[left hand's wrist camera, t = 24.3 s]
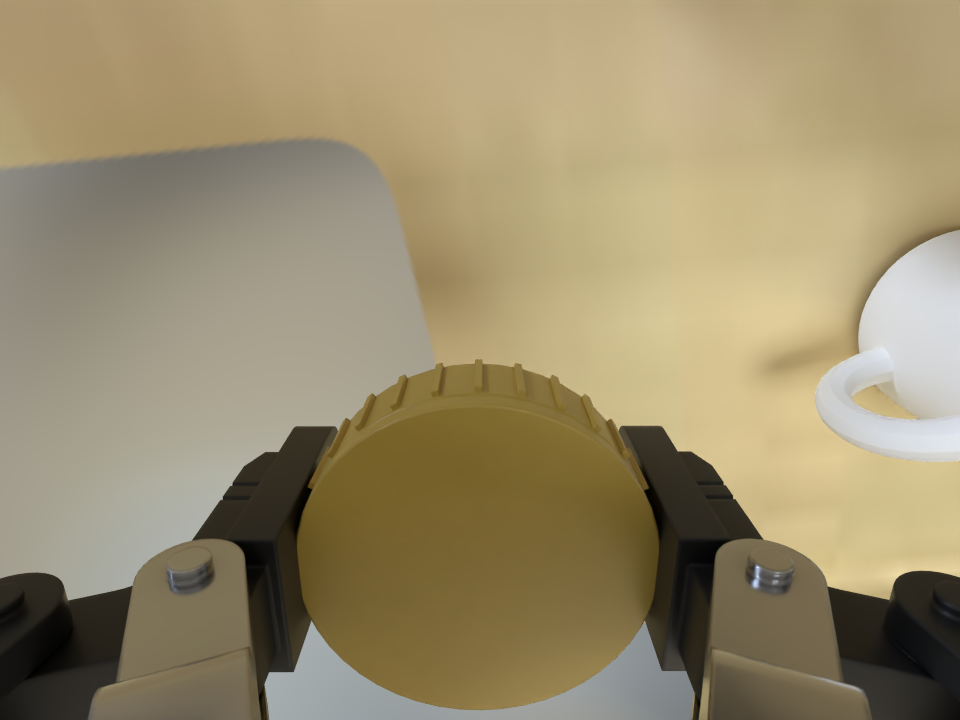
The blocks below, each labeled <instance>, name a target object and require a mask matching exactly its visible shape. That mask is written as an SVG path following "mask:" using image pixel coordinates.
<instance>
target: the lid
mask: <svg viewBox="0 0 960 720" xmlns="http://www.w3.org/2000/svg"><path fill="white" fill-rule="evenodd" d="M308 488H310V489H313V490H312V492H311V494H310V496H309V499H308V501H307V503H306V506H305V508H304V510H303V512H302V516H301V519H300V523H299V527H298V531H297V538H296V543H297V554H298V563H299V571H300V580H301V589H302V596H303V602H304V605H305V607H306V610H307V613H308V614H309V616H310V618H311V620H312V622H313V623H314V625H315V627H316V629H317V630H318V632H319V633H320V634H321V636H322V637H323V638H324V640H325V641H326V642H327V644H328V645H329V646H330V647H331V648H332V649H333V650H334V652H335V653H336V654H337V655H338V656H339V657H340V658H341V659H342V660H343V661H344V662H346V663H347V664H348V665H349V666H351V667H352V668H353V669H354V670H356V671H357V672H358V673H359V674H361V675H362V676H364V677H366V678H367V679H369V680H371V681H372V682H374V683H375V684H377V685H379V686H381V687H383V688H385V689H387V690H389V691H391V692H393V693H395V694H398V695H401V696H403V697H406V698H409V699H412V700H415V701H418V702H422V703H426V704H430V705H434V706H439V707H446V708H453V709H463V710H492V709H505V708H511V707H517V706H523V705H527V704H531V703H535V702H539V701H542V700H546V699H548V698H551V697H553V696H556V695H559V694H561V693H564V692H566V691H568V690H570V689H572V688H574V687H576V686H578V685H580V684H582V683H583V682H585V681H586V680H588V679H590V678H591V677H592V676H594V675H596V674H597V673H599V672H600V671H601V670H603V669H604V668H605V667H606V666H607V665H608V664H610V663H611V662H612V661H613V660H614V659H615V658H617V657H618V655H619V654H620V653H621V652H622V651H623V650H624V649H625V648H626V647H627V646H628V645H629V643H630V642H631V641H632V639H633V638H634V636H635V635H636V634H637V632H638V631H639V629H640V628H641V626H642V624H643V623H644V621H645V619H646V617H647V615H648V613H649V611H650V609H651V606H652V603H653V599H654V592H655V583H656V574H657V566H658V557H659V546H660V538H659V531H658V526H657V523H656V520H655V517H654V513H653V510H652V507H651V505H650V503H649V501H648V499H647V497H646V495H645V492H644V490H646V489H648V488H649V487H648V485H647V483H646V481H645V479H644V477H643V475H642V472H641V470H640V468H639V466H638V464H637V462H636V460H635V458H634V456H633V454H632V452H631V450H630V448H626V446H625V444H624V442H623V440H622V438H621V436H620V434H619V431H618V429H617V427H616V425H615V423H614V422H613V420H612V419H610V420H608V421H606V420H605V419H604V418H603V417H602V415H601V414H600V413H599V412H598V411H597V410H596V409H595V408H594V407H593V405H592V402H591V400H590V398H589V397H588V396H587V395H586V394H584V395H583V396H582V397H581V396H579V395H578V394H576V393H575V392H573V391H571V390H570V389H568V388H567V387H565V386H563V385H562V384H560V383H559V379H558V377H556V376H554V375H552V376H551V378H550V379H549V378H547V377H544V376H542V375H539V374H536V373H533V372H529V371H526V370H523V369H522V366H521V364H516V363H515V364H514V368H513V367H508V366H502V365H491V364H482V360H475V364H466V365H453V366H448V367H444V366H443V363H440V364H436V367H435V369H433V370H430V371H427V372H424V373H421V374H418V375H415V376H412V377H409V378H407V377H406V375H403V376H401V377H399V380H398V383H397V384H395V385H393V386H391V387H389V388H388V389H386V390H385V391H383V392H382V393H381V394H379V395H378V396H375V395H374V394H371V395H369V396H368V398H367V400H366V402H365V404H364V407H363V408H362V409H361V410H359V411H358V412H357V414H356V415H355V416H354V417H353V418H352V419H351V421H350V420H349V419H347V418H346V419H345V420H344V421H343V423H342V425H341V427H340V429H339V431H338V433H337V435H336V437H335V439H334V441H333V443H332V445H331V447H327V449H326V451H325V453H324V455H323V457H322V459H321V461H320V463H319V465H318V467H317V469H316V471H315V473H314V475H313V477H312V479H311V481H310V483H309V485H308Z"/></svg>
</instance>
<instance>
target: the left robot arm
mask: <svg viewBox="0 0 960 720" xmlns="http://www.w3.org/2000/svg"><path fill="white" fill-rule="evenodd" d="M337 433H338V430H337V428H336V427H334V426H297V427H294V429H293V430H292V432H291V433H290V435H289V436H288V438H287V440H286V441H285V443H284V444H283V446H282V448H281V449H280V451H279V452H265V453H264V454H262V455H261V456H259V457H257V458H256V459H254V460H253V461H252V462H250V463H248V464H247V465H246V466H244V467H243V469H242V470H241V472H240V473H239V474H238V476H237V477H236V479H235V480H234V482H233V485H232V486H230V487H229V489H228V490H227V491H226V493H225V494H224V496H223V500H220V501H219V503H218V504H217V506H216V507H215V509H214V510H213V511H212V513H211V514H210V516H209V517H208V519H207V520H206V521H205V523H204V524H203V526H202V527H201V528H200V530H199V531H198V533H197V534H196V536H195V537H194V538H193V540H192V541H189V542H185V543H182V544H179V545H176V546H173V547H171V548H169V549H167V550H164V551H163V552H161V553H159V554H157V555H156V556H154V557H153V558H151V559H150V560H149V561H148V562H147V563H146V564H144V565H143V567H142V568H141V569H140V570H139V571H138V573H137V575H136V576H135V579H134V582H133V586H131V587H127V588H124V589H120V590H116V591H112V592H107V593H102V594H98V595H93V596H88V597H84V598H79V599H74V600H69V601H68V599H67V596H66V592H65V589H64V585H63V583H62V581H61V580H60V579H59V578H57V577H55V576H53V575H50V574H46V573H24V574H17V575H12V576H8V577H4V578H1V579H0V720H269V714H268V705H267V698H266V692H265V686H264V684H265V681H266V678H267V676H268V673H269V672H294V669H295V666H296V664H297V661H298V658H299V655H300V652H301V649H302V646H303V643H304V640H305V638H306V635H307V632H308V629H309V626H310V623H311V618H310V616H309V614H308V613H307V610H306V607H305V605H304V602H303V596H302V589H301V580H300V571H299V563H298V554H297V543H296V538H297V531H298V527H299V523H300V519H301V516H302V512H303V510H304V508H305V506H306V503H307V501H308V499H309V496H310V494H311V492H312V490H313V489H310V488H308V485H309V483H310V481H311V479H312V477H313V475H314V473H315V471H316V469H317V467H318V465H319V463H320V461H321V459H322V457H323V455H324V453H325V451H326V449H327V447H331V445H332V443H333V441H334V439H335V437H336V435H337ZM619 434H620V436H621V438H622V440H623V442H624V444H625V446H626V448H630V450H631V452H632V454H633V456H634V458H635V460H636V462H637V464H638V466H639V468H640V470H641V472H642V475H643V477H644V479H645V481H646V483H647V485H648V487H649V488H648V489H646V490H644V492H645V495H646V497H647V499H648V501H649V503H650V505H651V507H652V510H653V513H654V517H655V520H656V523H657V526H658V531H659V538H660V546H659V557H658V566H657V574H656V583H655V592H654V599H653V603H652V606H651V609H650V611H649V613H648V615H647V617H646V619H645V622H646V625H647V628H648V631H649V634H650V636H651V640H652V643H653V646H654V648H655V651H656V654H657V657H658V660H659V663H660V666H661V669H662V671H687V674H688V677H689V679H690V682H691V684H692V687H693V690H694V698H693V705H692V714H691V720H960V578H959V577H956V576H953V575H949V574H944V573H940V572H932V571H912V572H908V573H905V574H903V575H901V576H899V577H898V578H897V579H896V580H895V583H894V585H893V589H892V592H891V596H890V600H887V599H882V598H877V597H872V596H868V595H863V594H858V593H853V592H848V591H844V590H839V589H835V588H831V587H828V586H827V582H826V579H825V576H824V575H823V573H822V571H821V570H820V569H819V568H818V566H817V565H816V564H815V563H813V562H812V561H811V560H810V559H809V558H807V557H806V556H804V555H803V554H801V553H799V552H797V551H796V550H794V549H791V548H789V547H787V546H784V545H781V544H778V543H775V542H771V541H767V540H763V538H762V537H761V535H760V534H759V533H758V531H757V530H756V528H755V527H754V525H753V524H752V522H751V521H750V520H749V518H748V517H747V515H746V514H745V512H744V511H743V510H742V508H741V507H740V505H739V504H738V502H737V501H736V499H733V495H732V494H731V492H730V491H729V489H728V488H727V486H726V485H724V484H723V481H722V479H721V478H720V476H719V475H718V473H717V472H716V471H715V469H714V468H713V466H712V465H710V464H709V463H707V462H706V461H704V460H703V459H701V458H700V457H698V456H697V455H695V454H694V453H692V452H678V451H677V450H676V448H675V446H674V445H673V443H672V442H671V440H670V438H669V437H668V435H667V433H666V432H665V430H664V429H663V427H662V426H621V427H620V429H619Z"/></svg>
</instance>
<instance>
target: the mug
mask: <svg viewBox="0 0 960 720" xmlns="http://www.w3.org/2000/svg"><path fill="white" fill-rule="evenodd" d="M858 343H859V352H860V353H859V354H857V355H855V356H852V357H850V358H848V359H846V360H844V361H842V362H840V363H839V364H837V365H835V366H834V367H833V368H831V369H830V370H829V371H828V372H827V373H826V374H825V375H824V376H823V377H822V379H821V380H820V382H819V384H818V386H817V388H816V393H815V406H816V409H817V411H818V413H819V415H820V417H821V419H822V421H823V422H824V423H825V424H826V425H827V427H828V428H829V429H830V430H832V431H833V432H834V433H836V434H837V435H838V436H840V437H841V438H842V439H844V440H845V441H847V442H849V443H851V444H853V445H855V446H856V447H859V448H862V449H864V450H867V451H869V452H872V453H876V454H880V455H883V456H887V457H892V458H898V459H904V460H912V461H924V462H950V461H960V230H957V231H953V232H948V233H946V234H943V235H940V236H937V237H935V238H932V239H930V240H928V241H926V242H924V243H922V244H920V245H919V246H917V247H915V248H914V249H912V250H911V251H909V252H908V253H906V254H905V255H904V256H903V257H901V258H900V259H899V260H897V261H896V262H895V263H894V264H893V265H892V266H891V267H890V268H889V269H888V270H887V271H886V273H885V274H884V275H883V276H882V277H881V279H880V280H879V281H878V283H877V284H876V286H875V287H874V289H873V290H872V292H871V294H870V296H869V298H868V300H867V302H866V304H865V307H864V310H863V312H862V316H861V320H860V324H859V333H858ZM872 385H876V386H877V387H878V389H879V390H880V391H882V392H883V393H884V394H885V395H886V396H887V397H888V398H889V399H891V400H892V401H893V402H895V403H896V404H897V405H899V406H900V407H902V408H903V409H905V410H906V411H908V412H909V413H911V414H912V415H914V416H915V417H917V418H918V419H899V418H892V417H887V416H882V415H879V414H876V413H873V412H870V411H868V410H866V409H863V408H862V407H860V406H859V405H857V404H856V403H854V401H853V400H852V397H853V396H854V395H855V394H856V393H858V392H859V391H861V390H863V389H865V388H867V387H870V386H872Z"/></svg>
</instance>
